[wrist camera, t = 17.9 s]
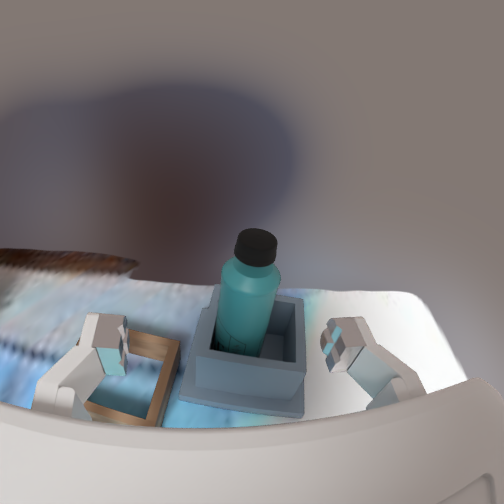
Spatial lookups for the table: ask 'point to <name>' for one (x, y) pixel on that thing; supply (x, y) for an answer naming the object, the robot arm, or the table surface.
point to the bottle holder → (250, 365)
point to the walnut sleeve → (171, 357)
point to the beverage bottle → (247, 294)
